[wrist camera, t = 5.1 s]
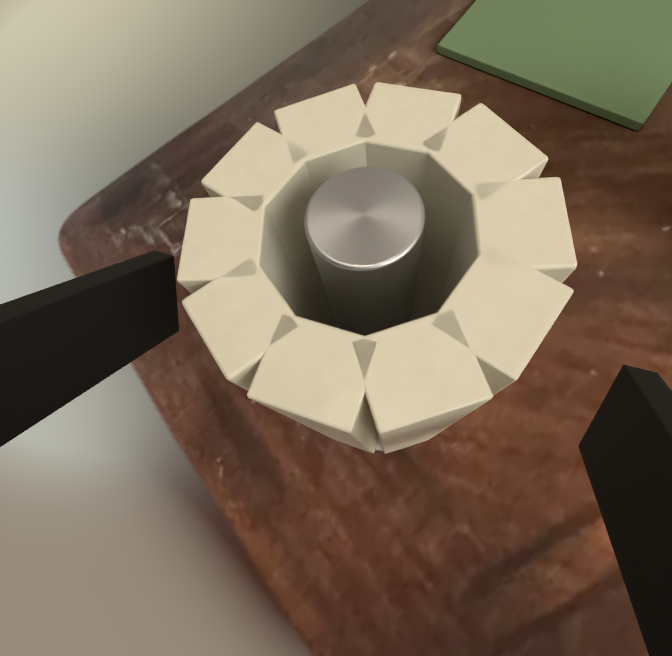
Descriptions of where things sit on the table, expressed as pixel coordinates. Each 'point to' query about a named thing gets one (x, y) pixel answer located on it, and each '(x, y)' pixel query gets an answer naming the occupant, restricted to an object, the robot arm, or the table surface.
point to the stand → (367, 247)
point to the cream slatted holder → (432, 278)
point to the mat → (573, 51)
